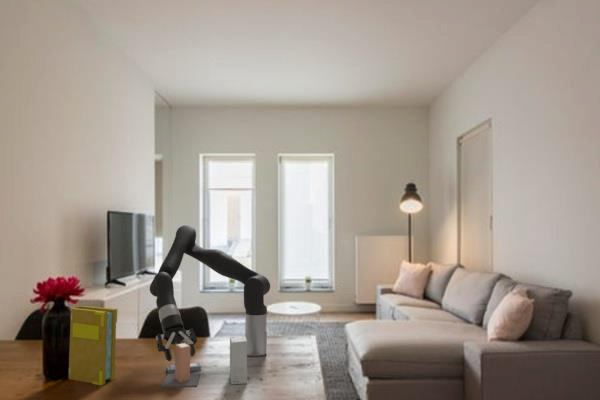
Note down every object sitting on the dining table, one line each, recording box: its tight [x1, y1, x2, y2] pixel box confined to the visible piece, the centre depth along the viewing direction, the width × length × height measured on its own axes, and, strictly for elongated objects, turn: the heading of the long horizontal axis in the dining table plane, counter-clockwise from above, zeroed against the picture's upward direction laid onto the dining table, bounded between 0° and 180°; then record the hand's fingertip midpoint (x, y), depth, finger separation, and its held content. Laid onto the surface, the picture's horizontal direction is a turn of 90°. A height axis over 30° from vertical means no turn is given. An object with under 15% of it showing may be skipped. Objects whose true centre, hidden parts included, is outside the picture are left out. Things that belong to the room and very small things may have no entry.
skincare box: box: [229, 335, 248, 385], centre depth 156 cm, size 8×6×15 cm
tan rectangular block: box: [174, 343, 191, 382], centre depth 155 cm, size 4×5×12 cm
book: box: [68, 305, 118, 386], centre depth 155 cm, size 17×7×25 cm, turn 71°
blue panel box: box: [166, 361, 202, 374], centre depth 165 cm, size 12×5×2 cm, turn 112°
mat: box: [161, 372, 202, 389], centre depth 155 cm, size 12×12×1 cm
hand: (181, 357), depth 155 cm, fingers open, 8 cm apart
